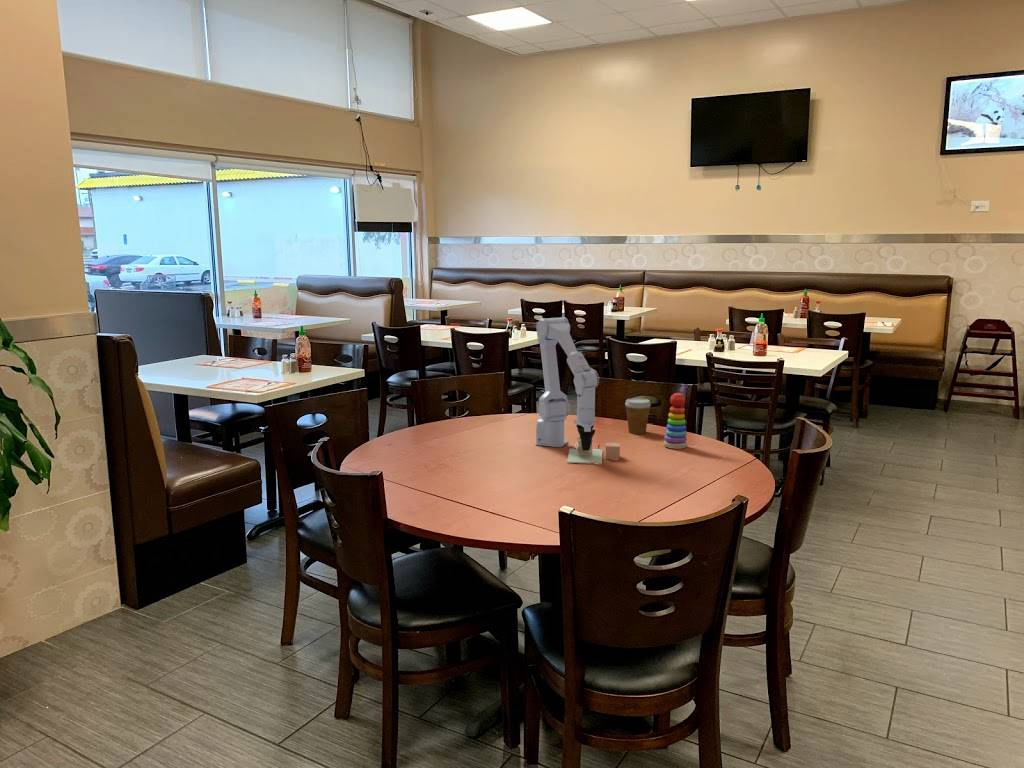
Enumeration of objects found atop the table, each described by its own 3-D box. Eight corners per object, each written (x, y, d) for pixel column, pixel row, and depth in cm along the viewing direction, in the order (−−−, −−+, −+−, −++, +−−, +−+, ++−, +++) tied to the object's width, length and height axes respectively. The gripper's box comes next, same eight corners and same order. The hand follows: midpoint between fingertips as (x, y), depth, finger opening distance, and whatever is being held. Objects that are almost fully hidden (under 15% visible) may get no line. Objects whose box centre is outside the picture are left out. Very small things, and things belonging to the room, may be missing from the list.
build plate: (567, 463, 242) (567, 461, 242) (569, 450, 258) (569, 448, 258) (601, 464, 241) (602, 462, 241) (602, 451, 256) (602, 449, 256)
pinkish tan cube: (605, 459, 246) (605, 446, 246) (605, 456, 251) (605, 442, 250) (619, 460, 246) (619, 446, 245) (619, 456, 250) (619, 443, 250)
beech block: (578, 454, 247) (578, 441, 246) (577, 450, 251) (577, 437, 250) (592, 454, 247) (592, 441, 246) (591, 450, 251) (591, 437, 250)
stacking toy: (687, 450, 257) (689, 395, 254) (663, 449, 259) (665, 395, 255) (687, 444, 265) (689, 391, 262) (663, 443, 266) (665, 390, 263)
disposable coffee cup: (619, 430, 285) (619, 399, 283) (640, 428, 289) (641, 397, 287) (633, 436, 276) (634, 403, 274) (655, 433, 280) (656, 401, 278)
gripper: (572, 402, 254) (571, 442, 256) (575, 412, 239) (574, 454, 242) (593, 402, 253) (592, 442, 256) (597, 412, 239) (596, 454, 242)
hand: (585, 448), depth 249 cm, fingers closed on beech block, 4 cm apart
